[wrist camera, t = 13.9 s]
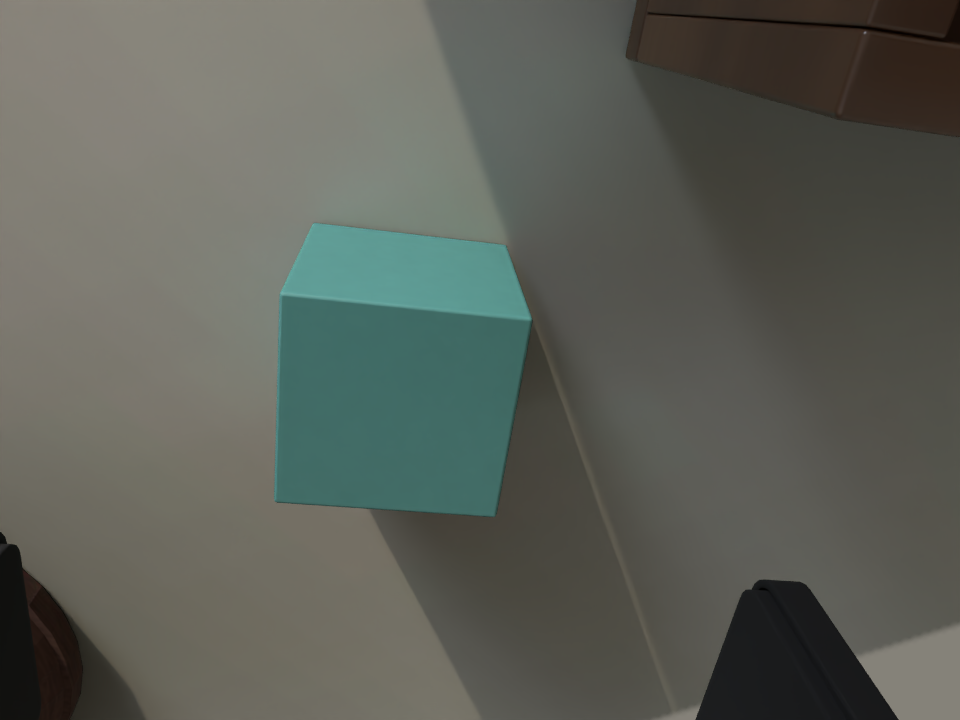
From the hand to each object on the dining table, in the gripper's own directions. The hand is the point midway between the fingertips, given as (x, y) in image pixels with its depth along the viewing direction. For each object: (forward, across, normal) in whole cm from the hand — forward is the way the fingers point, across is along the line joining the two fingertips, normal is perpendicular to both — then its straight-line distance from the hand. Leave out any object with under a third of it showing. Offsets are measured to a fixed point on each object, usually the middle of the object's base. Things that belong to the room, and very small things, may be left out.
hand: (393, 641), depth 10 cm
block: (+10, 0, -1) cm, 10 cm away
